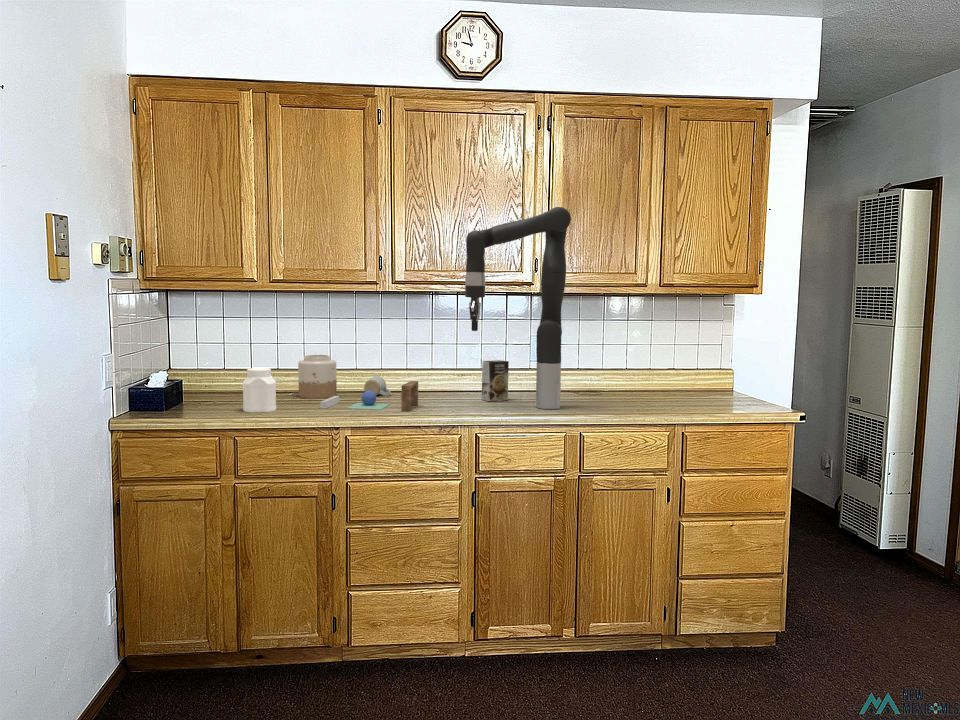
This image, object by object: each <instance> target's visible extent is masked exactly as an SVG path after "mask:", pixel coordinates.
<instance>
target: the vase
mask: <svg viewBox="0 0 960 720" xmlns="http://www.w3.org/2000/svg"><path fill="white" fill-rule="evenodd" d="M297 365H298V367H297V368H298V374H297V375H298V379H297V380H298V397H300V398H301V399H310V400H312V399H313V400H316V399H317V400H319V399H322V400H325V399H328V398H331V397H333V396H338V395H337V392H338V390H337V385H338V384H337V383H338V382H337V361H336V360H333V359H331V357H330V355H327V354H308V355H305V356H304V360H299V361H298V363H297Z"/></svg>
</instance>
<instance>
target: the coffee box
mask: <svg viewBox="0 0 960 720" xmlns="http://www.w3.org/2000/svg"><path fill="white" fill-rule="evenodd" d="M509 363H510V362H509V360H496V359H495V360H482V367H481V368H482V369H481V401H484V400H486V401H485V402H487V401H497V402H500V401H499V400H509V367H510V366H509Z"/></svg>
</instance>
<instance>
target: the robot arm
mask: <svg viewBox="0 0 960 720" xmlns="http://www.w3.org/2000/svg"><path fill="white" fill-rule="evenodd" d="M571 220H572V216H571V213H570V211H568V209H567V208H564V207H561V206H555V207H552V208H551V209H550V210H546V211H545V212H542V213H539V214H538V215H535V216H531V217H528V218H523V219H519V220H515V221H509V222H505V223H502V224H497V225H494V226H492V227H490V228H486V229H480V230H472V231H470V232H468V234H467V235H466V237H465V238H466V239H465V242H466V243H465V244H466V247H465V248H466V262H465V278H464V282H465V283H464V288H465V289H464V290H465V291H464V296H465V298H470V302H468V310H469V319H470V321H471V331H472V332H477V331H478V329H479V320H480V315H481V305H482V304H481V303H482V302H480V298H485V297H486V273H485V271H486V268H485V267H486V265H485V263H486V262H485V250H486V248H490V247H492V246H495V245H496V246H497V245H501V244H506V243H510V242H514V241H517V240H520V239H523V238H526V237H529V236H533V235H535V234H540V233H545V235H544V236H545V247H544V252H543V258H542V264H541V265H542V266H541V275H540V293H541V294H540V295H541V315H540V322H539V325H538V326H537V329H536V342H535V343H536V350H535V351H536V353H535V354H536V377H535V378H536V379H535V380H536V383H535V384H536V385H535V407H536V408H537V409H544V410H558V409H559V410H560V409H561V393H562V392H561V386H562V384H561V383H562V380H561V376H562V375H561V374H562V335H563V330H562V328H563V327H562V305H563V300H564V294H565V289H566V278H567V260H566V251H565V249H566V248H565V246H566V245H565V244H566V237H567V231H568V228H569V226H570V225H571Z"/></svg>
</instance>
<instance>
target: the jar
mask: <svg viewBox="0 0 960 720" xmlns="http://www.w3.org/2000/svg"><path fill="white" fill-rule="evenodd" d="M246 373H247V374H246V375H247V376H246V377H245V379H244V380H243V382H242V398H243V399H242V400H243V404H242V405H243V406H242V411H243V412H245V413H271V412H275V411H276V410H277V395H276V394H277V393H276V392H277V391H276V389H277V388H276V387H277V381H276V380H275V379H274V377H273V376H272V368H268V367H253V368H252V367H251V368H247V372H246Z"/></svg>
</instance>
